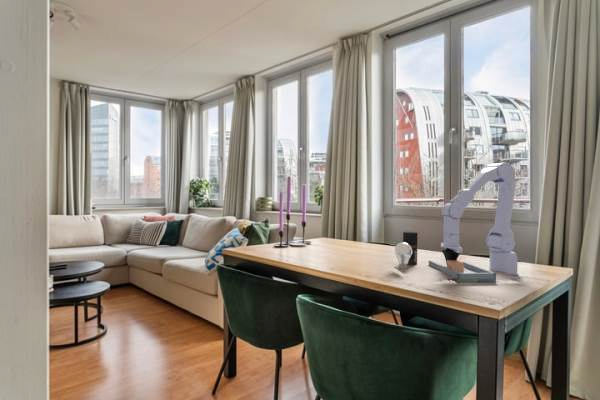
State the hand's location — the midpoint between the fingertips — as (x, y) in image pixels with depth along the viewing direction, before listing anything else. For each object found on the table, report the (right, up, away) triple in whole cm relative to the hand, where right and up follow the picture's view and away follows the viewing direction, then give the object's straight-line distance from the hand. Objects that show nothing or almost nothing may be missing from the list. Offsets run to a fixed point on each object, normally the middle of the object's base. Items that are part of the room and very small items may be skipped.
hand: (450, 268), depth 148 cm
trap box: (+3, -3, -1) cm, 4 cm away
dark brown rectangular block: (-12, -2, +14) cm, 19 cm away
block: (0, -1, -4) cm, 4 cm away
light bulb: (-17, -2, +5) cm, 18 cm away
